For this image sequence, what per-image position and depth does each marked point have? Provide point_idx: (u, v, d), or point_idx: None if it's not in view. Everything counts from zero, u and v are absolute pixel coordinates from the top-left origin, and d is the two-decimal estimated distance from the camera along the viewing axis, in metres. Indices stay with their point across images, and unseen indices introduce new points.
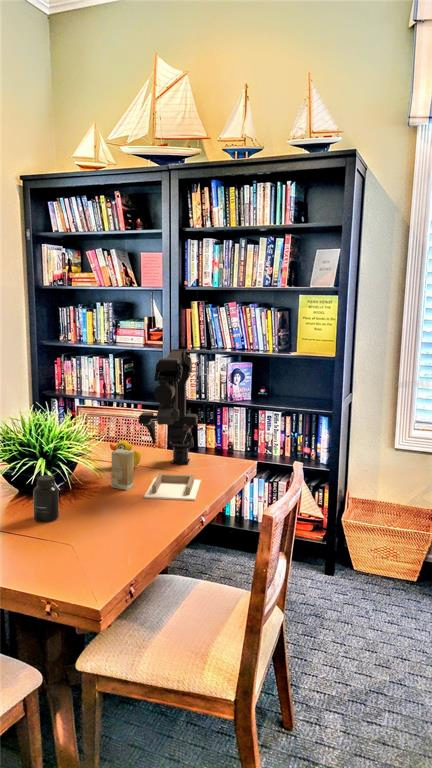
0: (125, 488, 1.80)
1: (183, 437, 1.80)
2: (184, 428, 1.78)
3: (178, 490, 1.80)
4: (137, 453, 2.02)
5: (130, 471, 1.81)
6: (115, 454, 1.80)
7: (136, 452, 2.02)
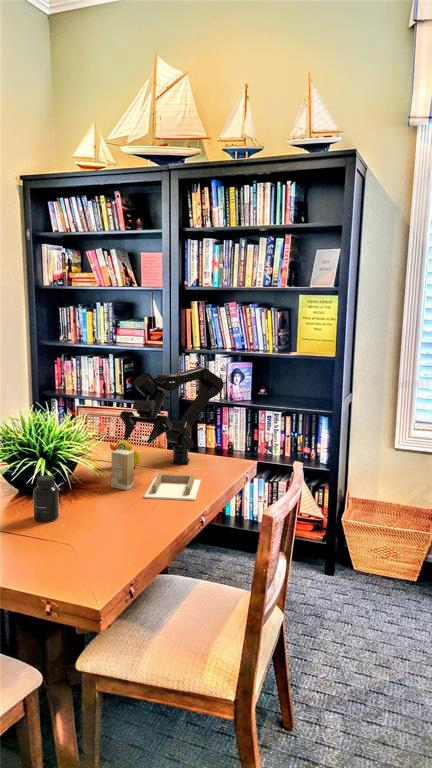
0: (125, 488, 1.80)
1: (151, 434, 1.88)
2: (155, 424, 1.88)
3: (178, 490, 1.80)
4: (137, 453, 2.02)
5: (130, 471, 1.81)
6: (115, 454, 1.80)
7: (136, 452, 2.02)
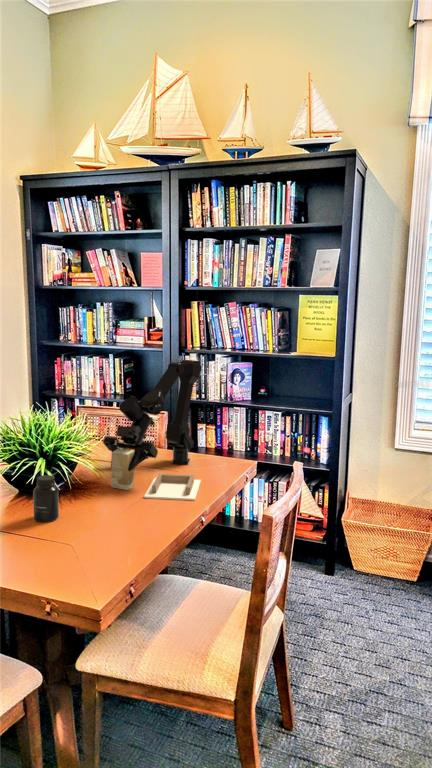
0: (125, 488, 1.80)
1: (132, 461, 1.80)
2: (135, 450, 1.81)
3: (178, 490, 1.80)
4: None
5: (130, 471, 1.81)
6: (115, 453, 1.80)
7: None
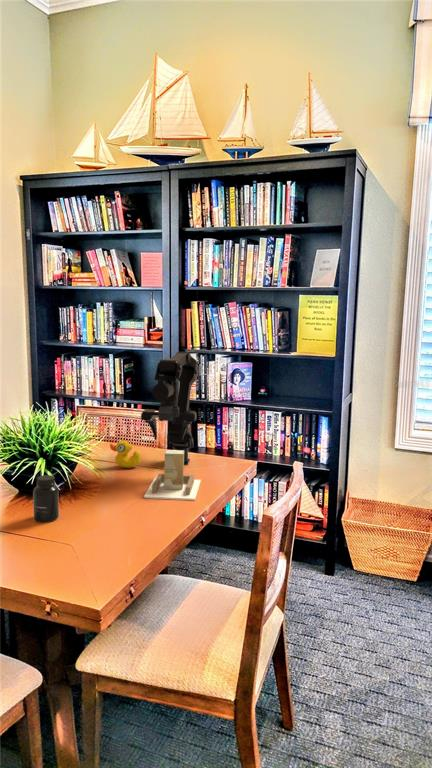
0: (180, 488, 1.80)
1: (183, 432, 1.92)
2: (184, 424, 1.90)
3: (178, 490, 1.80)
4: (137, 453, 2.02)
5: (183, 470, 1.81)
6: (169, 454, 1.78)
7: (136, 452, 2.02)
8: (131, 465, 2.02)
